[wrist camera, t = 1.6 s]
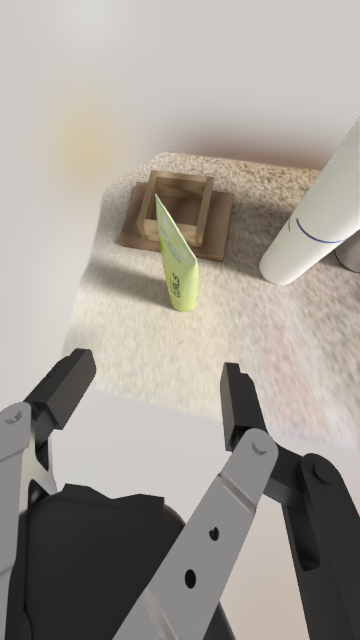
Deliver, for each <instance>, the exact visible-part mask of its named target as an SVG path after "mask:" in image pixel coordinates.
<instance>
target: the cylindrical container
mask: <svg viewBox="0 0 360 640" xmlns="http://www.w3.org/2000/svg"><path fill="white" fill-rule="evenodd" d="M359 229H360V117H359V119H358V120H357V122H356V123H355V124H354V126H353V127H352V129H351V130H350V132H349V133H348V134H347V136H346V137H345V139H344V140H343V142H342V143H341V144H340V146H339V147H338V149H337V150H336V152H335V153H334V155H333V156H332V157H331V159H330V160H329V162H328V163H327V165H326V166H325V168H324V169H323V170H322V172H321V173H320V175H319V176H318V177H317V179H316V180H315V182H314V183H313V185H312V186H311V188H310V189H309V190H308V192H307V193H306V195H305V196H304V198H303V199H302V200H301V202H300V203H299V205H298V206H297V208H296V209H295V211H294V212H293V213H292V215H291V216H290V218H289V219H288V221H287V222H286V224H285V225H284V226H283V228H282V229H281V231H280V232H279V234H278V235H277V236H276V238H275V239H274V241H273V242H272V244H271V245H270V247H269V248H268V249H267V251H266V252H265V254H264V255H263V257H262V258H261V260H260V264H259V267H260V272H261V274H262V276H263V277H264V278H265V279H266V280H267V281H269V282H271V283H273V284H277V285H285V284H288V283H290V282H292V281H293V280H295V279H296V278H297V277H299V276H300V275H301V274H302V273H304V272H305V271H306V270H308V269H309V268H310V267H311V266H313V265H314V264H315V263H316V262H318V261H319V260H320V259H322V258H323V257H324V256H326V255H327V254H328V253H329V252H331V251H332V250H333V249H335V248H336V247H337V246H338V245H340V244H341V243H342V242H344V241H345V240H346V239H347V238H349V237H350V236H351V235H353V234H354V233H355V232H356V231H358V230H359Z"/></svg>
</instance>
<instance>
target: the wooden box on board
mask: <svg viewBox="0 0 360 640" xmlns="http://www.w3.org/2000/svg"><path fill="white" fill-rule="evenodd" d="M213 179H214V177H206V176H197V175H189V174H180V173H171V172H162V171H153V170H151V174H150V178H149V181H148V183H141V182H136V186H135V189H134V193H133V196H132V199H131V203H130V206H129V210H128V213H127V216H126V220H125V223H124V227H123V230H122V233H121V237H120V240H119V242H120V244H121V246H124V247H131V248H137V249H144V250H150V251H157V252H161V246H160V239H159V232H158V223H157V211H156V197H155V194H156V195H157V196H158V198H159V200H160V201H161V203H162V204H163V206H164V207H165V208H166V210H167V211H168V213H169V214H170V216H171V217H172V219H173V221H174V222H175V224H176V226H177V227H178V229H179V231H180V233H181V234H182V236H183V238H184V239H185V241H186V243H187V245H188V246H189V248H190V249H191V251H192V252H193V254H194V255H195V257H196V258H203V259H210V260H216V261H222V260H223V256H224V250H225V244H226V238H227V232H228V226H229V220H230V214H231V208H232V202H233V196H234V194H233V193H225V192H216V191H212V186H213Z"/></svg>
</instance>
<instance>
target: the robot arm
mask: <svg viewBox="0 0 360 640" xmlns="http://www.w3.org/2000/svg"><path fill="white" fill-rule="evenodd" d="M335 252H336V255H337V257H338V259H339V261H340V262H341V263H342V264H343V265H344V266H345V267H347V268H348V269H350V270H352V271H355V272H358V273H360V229H359V230H358V231H356V232H355V233H354V234H353V235H351V236H350V237H349V238H347V239H346V240H345V241H344V242H342V243H341V244H340V245H338V246H337V247H336V248H335ZM95 374H96V365H95V362H94V358H93V355H92V352H91V350H90V349H80V348H76V349H75V350H74V351H73V352H72V353H71V354H70V356H66V357H64V358H63V359H61V360H60V361H58V362H57V363H56V365H55V366H54V367H53V368H52V369H51V371H49V373H48V374H47V375H46V377H44V378H43V379H42V381H41V382H40V383H39V384H38V385H37V386H36V387H35V388H34V390H33V391H32V392H31V393H30V394H29V395H28V396H27V397H26V399H25V400H24V401H23V402H19V403H15V404H13V405H10V406H8V407H7V408H5V409H4V410H2V411H1V412H0V640H236V639H235V636H234V634H233V632H232V629H231V627H230V625H229V622H228V620H227V618H226V615H225V613H224V610H223V608H222V606H221V603H220V601H219V600H220V597H221V595H222V593H223V590H224V588H225V586H226V583H227V581H228V578H229V576H230V574H231V571H232V569H233V567H234V564H235V561H236V560H237V557H238V555H239V552H240V550H241V548H242V545H243V543H244V541H245V538H246V536H247V533H248V531H249V529H250V526H251V524H252V522H253V519H254V516H255V513H256V508H257V505H258V502H259V500H260V497H261V495H262V493H263V494H264V495H266V496H268V497H270V498H272V499H274V500H276V501H277V502H279V503H281V505H282V511H283V515H284V520H285V524H286V530H287V534H288V539H289V544H290V548H291V553H292V558H293V562H294V567H295V572H296V577H297V581H298V586H299V590H300V596H301V600H302V605H303V610H304V614H305V619H306V624H307V628H308V633H309V638H310V640H360V517H359V514H358V512H357V510H356V508H355V505H354V503H353V501H352V499H351V497H350V494H349V492H348V490H347V488H346V485H345V483H344V481H343V479H342V477H341V475H340V473H339V472H338V470H337V469H336V468H335V467H334V465H333V464H332V463H331V462H329V461H328V460H327V459H325V458H324V457H322V456H320V455H318V454H314V453H309V454H306V455H305V456H303V457H302V456H300V455H298V454H296V453H294V452H291V451H289V450H287V449H285V448H283V447H281V446H280V445H278V444H277V443H276V442H275V441H274V440H273V438H272V437H271V436H270V435H269V433H268V431H267V429H266V426H265V422H264V419H263V415H262V412H261V408H260V404H259V401H258V397H257V393H256V390H255V386H254V383H253V381H252V379H251V378H250V377H249V375H248V374H245V373H240V368H239V364H238V363H228V362H225V363H224V366H223V371H222V376H221V380H220V394H221V405H222V416H223V426H224V437H225V448H226V451H231V452H232V455H231V456H230V458H229V459H228V461H227V463H226V464H225V466H224V467H223V469H222V471H221V472H220V473H219V474H218V475H217V476H216V478H215V479H214V481H213V482H212V484H211V486H210V487H209V489H208V490H207V492H206V494H205V495H204V497H203V498H202V500H201V502H200V503H199V505H198V506H197V508H196V510H195V511H194V513H193V514H192V516H191V518H190V519H189V521H188V522H187V524H185V522H184V521H183V520H182V518H181V517H180V516H179V515H178V514H177V512H175V511H174V510H173V509H172V508H171V507H169V506H167V505H166V504H165V502H164V497H157V496H151V495H144V494H136V495H131V496H126V497H121V498H116V499H110V498H108V497H106V496H104V495H102V494H101V493H99V492H97V491H96V490H94V489H92V488H91V487H88V486H81V485H74V484H65V486H64V488H63V490H62V491H60V492H57V486H56V482H55V480H54V476H53V466H52V445H51V436H50V434H51V432H52V431H53V429H58V430H63V428H64V426H65V425H66V423H67V422H68V420H69V418H70V417H71V415H72V413H73V411H74V410H75V408H76V407H77V405H78V403H79V402H80V400H81V398H82V397H83V395H84V393H85V392H86V390H87V388H88V387H89V385H90V383H91V382H92V380H93V378H94V377H95Z"/></svg>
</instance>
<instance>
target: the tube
mask: <svg viewBox="0 0 360 640" xmlns="http://www.w3.org/2000/svg"><path fill="white" fill-rule="evenodd" d="M155 197H156V211H157V223H158V232H159V239H160V246H161V254H162V260H163V266H164V272H165V278H166V283H167V288H168V292H169V296H170V300H171V303H172V305H173V307H174V308H175V309H176V310H178V311H181V312H188V311H190V310H192V309H193V308H194V307H195V306H196V304H197V301H198V263H197V259H196V257H195V255H194V254H193V252H192V251H191V249H190V248H189V246H188V245H187V243H186V241H185V239H184V238H183V236H182V234H181V233H180V231H179V229H178V227H177V226H176V224H175V222H174V221H173V219H172V217H171V216H170V214H169V213H168V211H167V210H166V208H165V207H164V206H163V204H162V203H161V201H160V200H159V198H158V196H157V195H156V194H155Z"/></svg>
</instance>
